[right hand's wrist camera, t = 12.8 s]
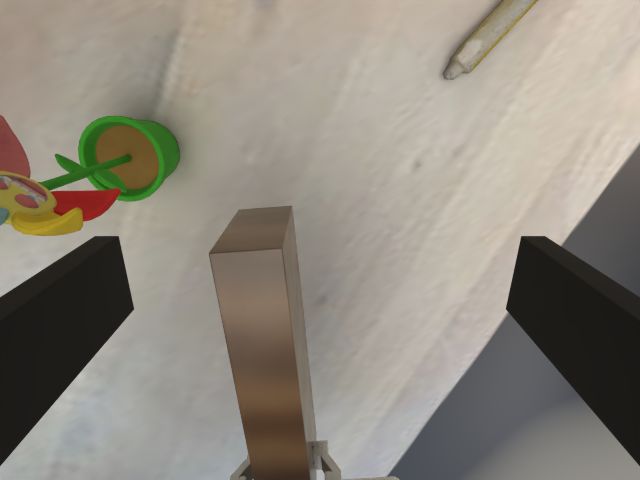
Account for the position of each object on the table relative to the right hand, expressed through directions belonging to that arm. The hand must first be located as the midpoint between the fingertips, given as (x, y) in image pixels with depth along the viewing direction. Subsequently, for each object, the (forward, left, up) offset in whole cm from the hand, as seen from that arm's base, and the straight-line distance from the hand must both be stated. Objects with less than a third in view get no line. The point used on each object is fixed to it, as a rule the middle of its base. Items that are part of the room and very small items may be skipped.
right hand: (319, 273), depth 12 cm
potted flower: (0, -19, -30) cm, 36 cm away
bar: (+17, -4, -19) cm, 26 cm away
